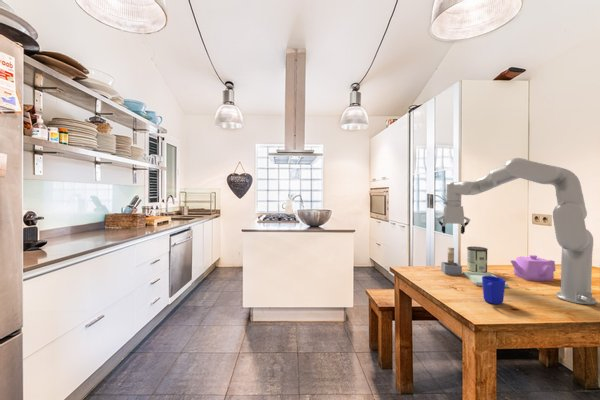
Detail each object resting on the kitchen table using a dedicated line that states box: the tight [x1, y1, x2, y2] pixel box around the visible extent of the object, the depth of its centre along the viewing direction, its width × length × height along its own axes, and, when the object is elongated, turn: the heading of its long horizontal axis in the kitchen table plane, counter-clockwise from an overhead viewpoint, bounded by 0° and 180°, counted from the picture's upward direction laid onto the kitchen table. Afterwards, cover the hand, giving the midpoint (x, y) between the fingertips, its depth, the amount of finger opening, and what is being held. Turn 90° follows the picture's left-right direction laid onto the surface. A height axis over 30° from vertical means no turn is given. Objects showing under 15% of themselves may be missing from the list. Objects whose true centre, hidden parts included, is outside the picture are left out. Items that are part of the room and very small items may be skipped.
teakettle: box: [510, 254, 556, 282], centre depth 156 cm, size 17×17×12 cm
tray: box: [462, 271, 509, 289], centre depth 151 cm, size 20×14×2 cm
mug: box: [482, 276, 506, 305], centre depth 120 cm, size 8×12×10 cm
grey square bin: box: [440, 261, 463, 276], centre depth 165 cm, size 9×9×6 cm
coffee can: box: [466, 246, 489, 273], centre depth 169 cm, size 10×10×14 cm
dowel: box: [447, 247, 455, 266], centre depth 165 cm, size 3×3×14 cm
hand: (453, 233), depth 165 cm, fingers open, 9 cm apart
